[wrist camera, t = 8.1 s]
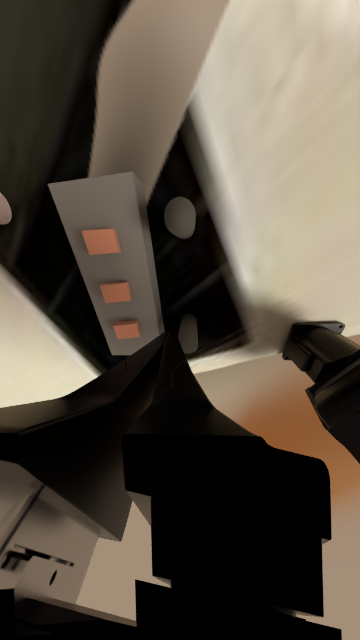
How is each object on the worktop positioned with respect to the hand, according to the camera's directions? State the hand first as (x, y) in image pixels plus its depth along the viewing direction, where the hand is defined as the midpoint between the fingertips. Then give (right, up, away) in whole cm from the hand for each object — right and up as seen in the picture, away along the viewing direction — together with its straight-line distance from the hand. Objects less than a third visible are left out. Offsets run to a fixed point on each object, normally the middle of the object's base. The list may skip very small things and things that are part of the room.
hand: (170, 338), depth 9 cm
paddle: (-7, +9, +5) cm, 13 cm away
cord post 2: (+2, +1, +12) cm, 12 cm away
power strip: (-6, +6, +10) cm, 14 cm away
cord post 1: (+1, +12, +7) cm, 14 cm away
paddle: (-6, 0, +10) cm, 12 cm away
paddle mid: (-7, +5, +8) cm, 11 cm away
